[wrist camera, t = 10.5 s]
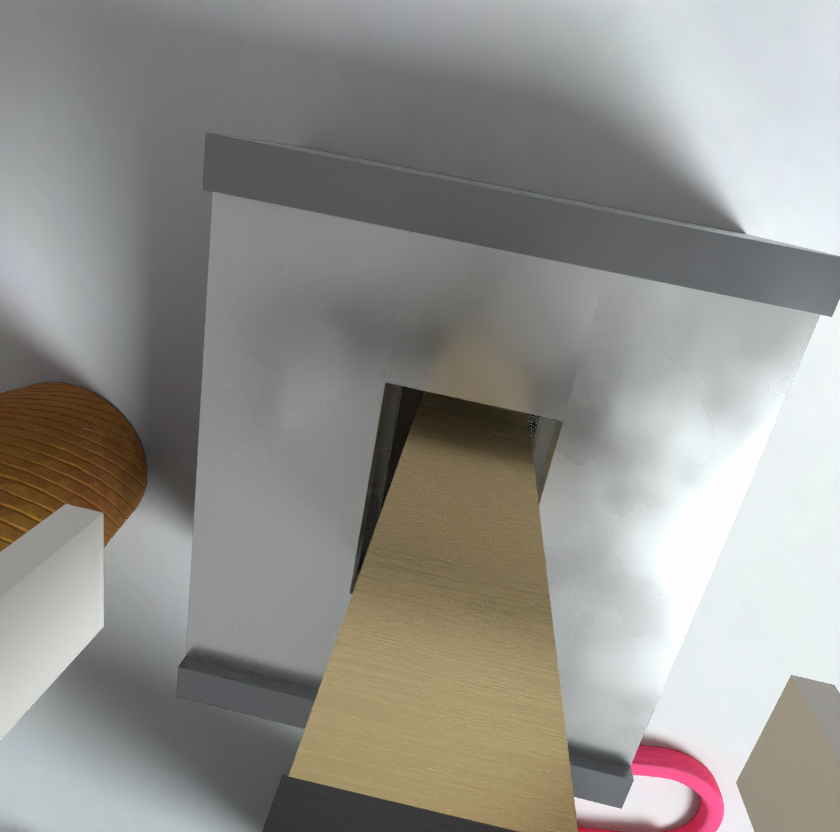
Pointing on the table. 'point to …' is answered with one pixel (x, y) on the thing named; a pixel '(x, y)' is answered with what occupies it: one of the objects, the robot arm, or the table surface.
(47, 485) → the disposable coffee cup
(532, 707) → the tan long block
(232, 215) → the collar stand
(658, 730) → the table surface
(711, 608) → the table surface
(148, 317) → the table surface
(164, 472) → the table surface
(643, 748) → the fitness band
